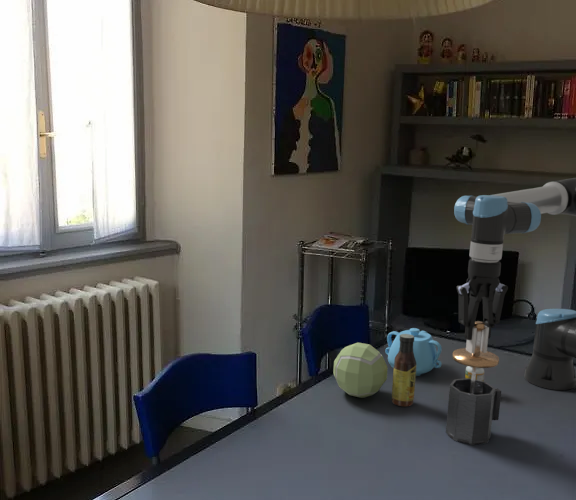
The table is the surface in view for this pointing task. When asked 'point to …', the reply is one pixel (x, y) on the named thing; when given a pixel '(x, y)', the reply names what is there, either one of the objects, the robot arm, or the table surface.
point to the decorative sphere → (360, 370)
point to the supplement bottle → (478, 373)
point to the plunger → (476, 356)
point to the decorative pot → (416, 350)
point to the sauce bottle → (404, 373)
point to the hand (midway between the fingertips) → (476, 351)
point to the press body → (472, 411)
